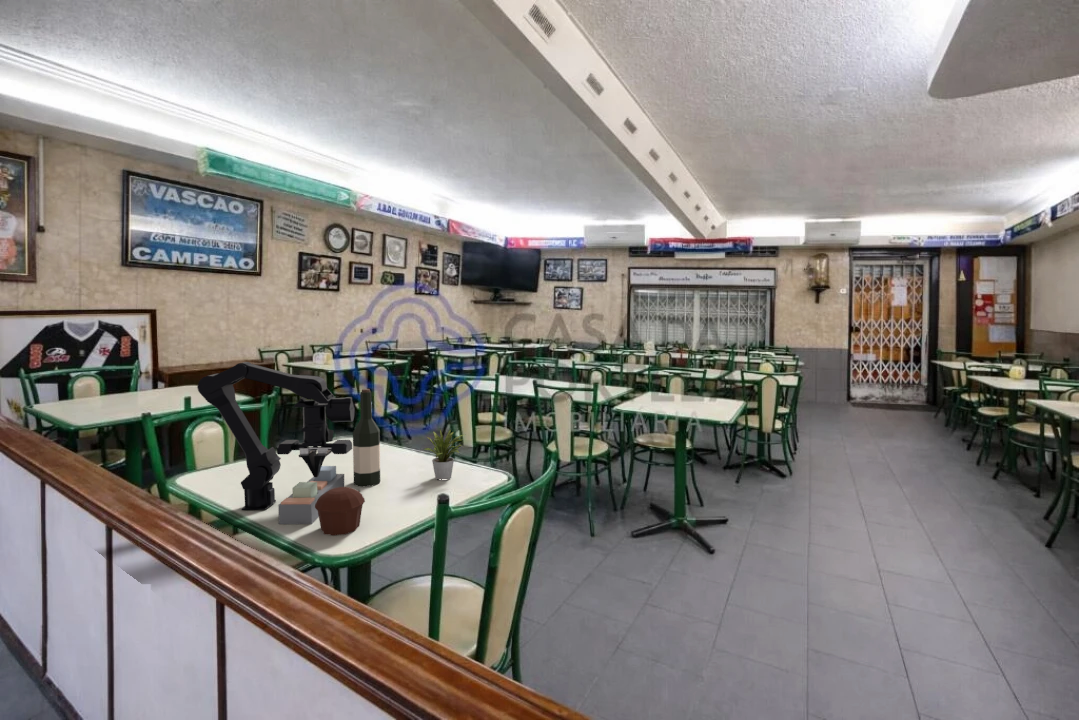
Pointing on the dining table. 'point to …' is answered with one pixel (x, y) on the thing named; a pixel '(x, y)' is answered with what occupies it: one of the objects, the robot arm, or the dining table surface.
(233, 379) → the robot arm
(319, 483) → the terracotta key
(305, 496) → the sage key
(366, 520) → the dining table surface
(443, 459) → the house plant
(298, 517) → the console
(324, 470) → the slate key
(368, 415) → the wine bottle
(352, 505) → the muffin
